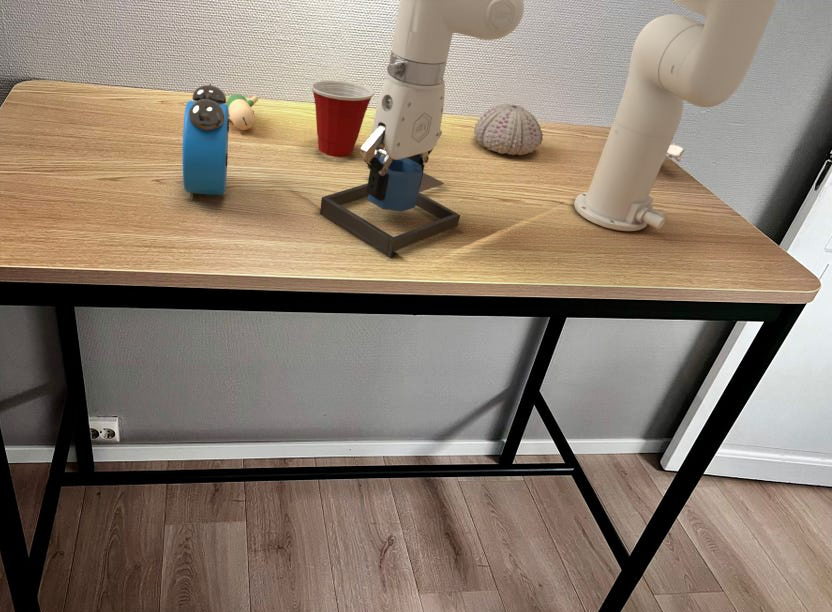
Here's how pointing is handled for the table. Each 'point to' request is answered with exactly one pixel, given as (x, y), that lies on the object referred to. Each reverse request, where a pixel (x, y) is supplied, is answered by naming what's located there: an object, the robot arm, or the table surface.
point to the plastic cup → (339, 114)
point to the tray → (375, 235)
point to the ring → (400, 185)
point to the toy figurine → (241, 111)
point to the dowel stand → (428, 182)
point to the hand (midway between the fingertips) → (393, 190)
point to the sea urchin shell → (508, 130)
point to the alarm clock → (205, 142)
